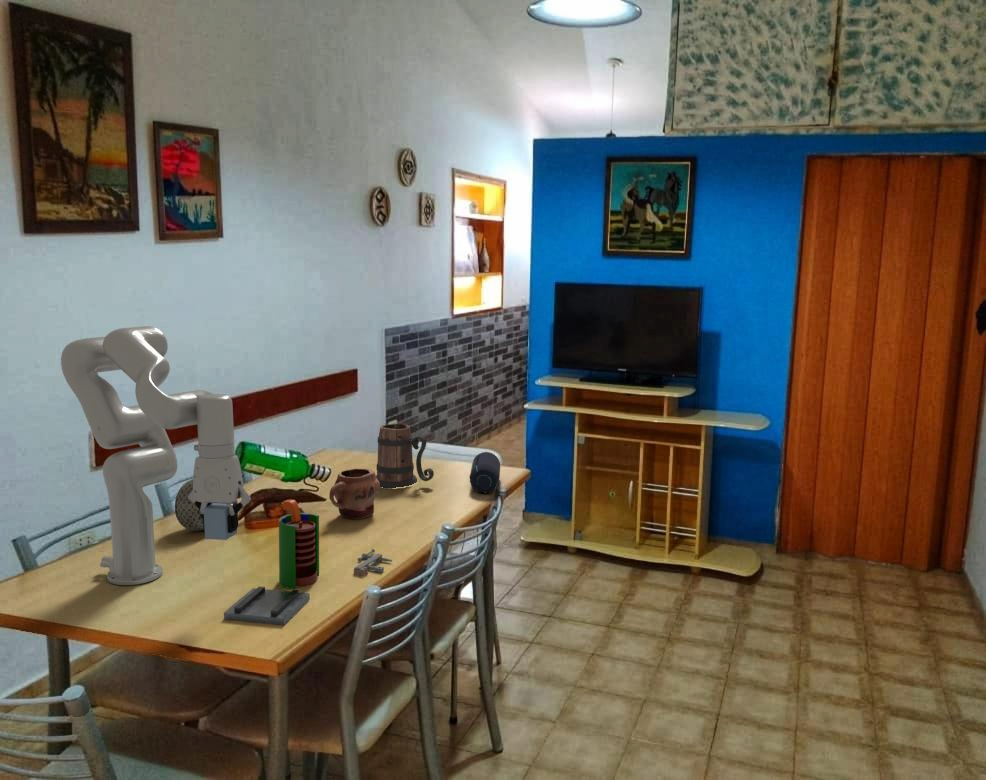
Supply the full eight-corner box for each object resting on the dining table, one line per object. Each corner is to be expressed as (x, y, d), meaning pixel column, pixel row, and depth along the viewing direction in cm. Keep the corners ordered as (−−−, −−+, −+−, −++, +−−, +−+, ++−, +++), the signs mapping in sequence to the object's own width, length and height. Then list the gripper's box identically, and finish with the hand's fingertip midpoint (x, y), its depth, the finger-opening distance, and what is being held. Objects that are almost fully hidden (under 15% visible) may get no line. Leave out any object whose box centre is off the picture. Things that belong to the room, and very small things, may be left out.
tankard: (361, 484, 293) (360, 427, 290) (388, 473, 308) (388, 419, 305) (419, 494, 283) (419, 435, 280) (444, 482, 298) (445, 426, 295)
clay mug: (349, 529, 247) (349, 482, 245) (316, 522, 252) (315, 476, 250) (389, 511, 264) (389, 467, 262) (357, 505, 270) (357, 462, 268)
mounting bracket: (224, 619, 186) (223, 608, 186) (253, 594, 200) (252, 584, 199) (284, 625, 184) (283, 614, 183) (309, 599, 197) (309, 589, 197)
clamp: (373, 571, 210) (339, 565, 214) (374, 579, 211) (339, 573, 215) (404, 552, 224) (371, 546, 228) (404, 560, 224) (371, 554, 228)
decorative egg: (184, 539, 236) (182, 487, 233) (169, 528, 245) (167, 478, 242) (225, 531, 243) (223, 480, 241) (209, 521, 252) (207, 472, 250)
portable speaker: (472, 476, 307) (472, 449, 305) (500, 476, 307) (500, 449, 305) (468, 495, 282) (469, 466, 281) (498, 496, 282) (499, 467, 280)
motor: (307, 590, 202) (305, 509, 199) (272, 587, 204) (269, 506, 201) (323, 574, 212) (322, 497, 209) (290, 571, 214) (288, 494, 211)
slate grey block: (205, 538, 189) (203, 508, 188) (220, 529, 195) (218, 499, 194) (226, 540, 188) (224, 509, 187) (240, 530, 194) (238, 501, 193)
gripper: (172, 452, 186) (177, 533, 188) (244, 456, 182) (248, 537, 185) (190, 445, 193) (195, 523, 196) (260, 448, 190) (264, 527, 192)
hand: (221, 529), depth 190 cm, fingers closed on slate grey block, 5 cm apart
